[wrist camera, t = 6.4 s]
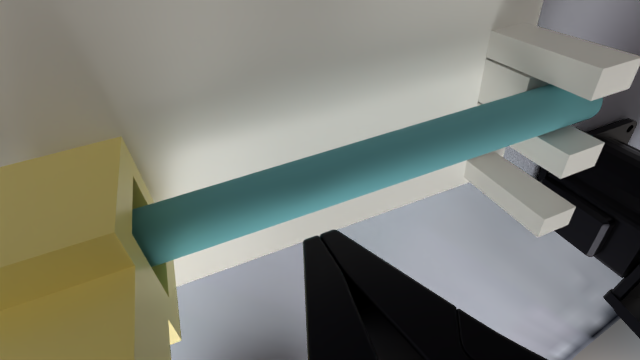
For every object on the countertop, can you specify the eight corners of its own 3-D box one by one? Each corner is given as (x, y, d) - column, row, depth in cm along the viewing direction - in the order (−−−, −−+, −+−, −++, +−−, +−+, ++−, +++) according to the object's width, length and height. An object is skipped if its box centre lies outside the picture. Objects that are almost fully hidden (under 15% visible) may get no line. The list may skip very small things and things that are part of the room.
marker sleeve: (121, 136, 10) (102, 397, 5) (171, 237, 13) (195, 485, 7) (-4, 167, 9) (-198, 519, 4) (75, 268, 12) (22, 570, 6)
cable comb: (542, -92, 13) (727, -92, 9) (485, 161, 20) (576, 227, 16) (-329, 43, 8) (-876, 201, 4) (1, 329, 14) (-55, 497, 10)
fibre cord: (527, 26, 15) (663, 67, 11) (507, 109, 17) (613, 167, 13) (-178, 202, 9) (-393, 400, 6) (-71, 288, 11) (-173, 473, 8)
